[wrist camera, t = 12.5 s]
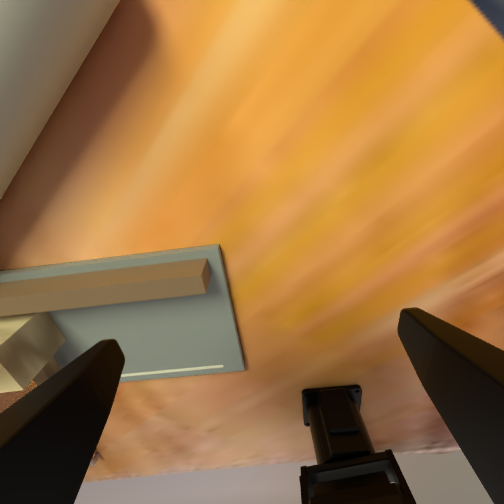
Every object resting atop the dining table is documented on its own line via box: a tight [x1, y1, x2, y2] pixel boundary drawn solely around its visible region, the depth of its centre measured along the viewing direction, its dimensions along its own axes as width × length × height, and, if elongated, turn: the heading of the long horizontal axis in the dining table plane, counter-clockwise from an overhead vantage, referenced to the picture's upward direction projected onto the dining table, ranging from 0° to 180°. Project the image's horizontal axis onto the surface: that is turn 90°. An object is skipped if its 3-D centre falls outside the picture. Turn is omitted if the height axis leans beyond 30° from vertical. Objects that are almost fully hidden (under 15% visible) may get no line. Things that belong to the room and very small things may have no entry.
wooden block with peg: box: [0, 311, 66, 393], centre depth 21 cm, size 10×4×5 cm, turn 8°
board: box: [0, 244, 245, 382], centre depth 22 cm, size 14×22×3 cm, turn 98°
